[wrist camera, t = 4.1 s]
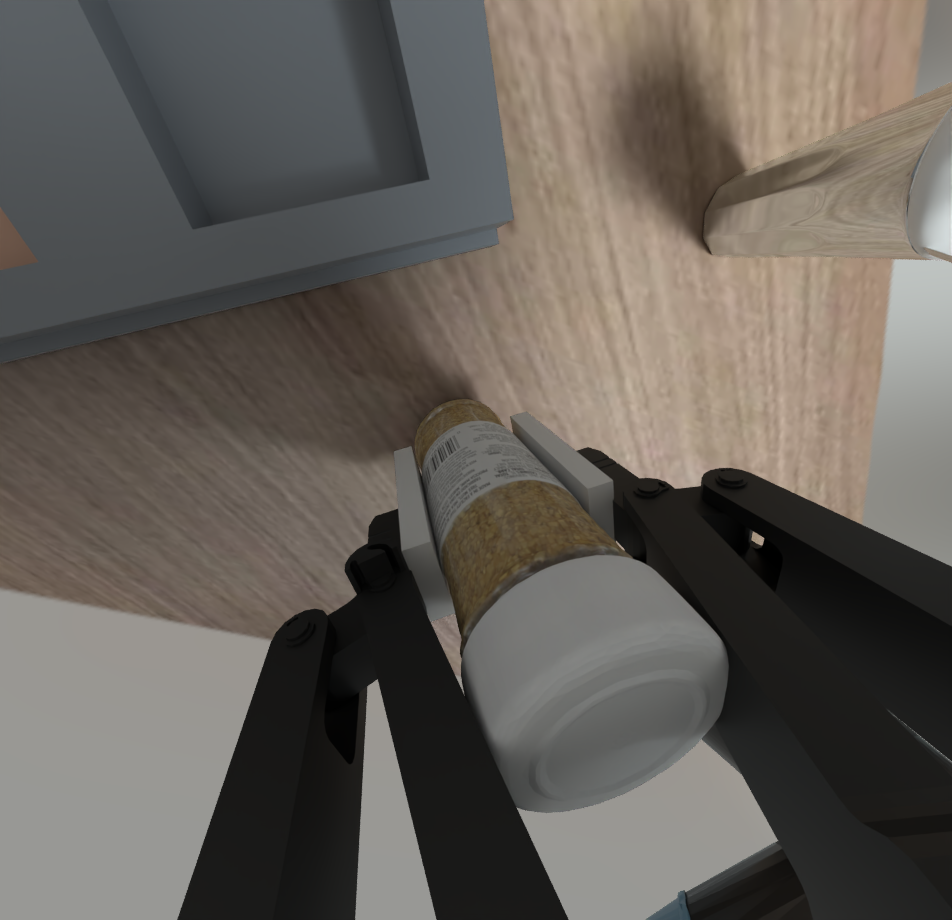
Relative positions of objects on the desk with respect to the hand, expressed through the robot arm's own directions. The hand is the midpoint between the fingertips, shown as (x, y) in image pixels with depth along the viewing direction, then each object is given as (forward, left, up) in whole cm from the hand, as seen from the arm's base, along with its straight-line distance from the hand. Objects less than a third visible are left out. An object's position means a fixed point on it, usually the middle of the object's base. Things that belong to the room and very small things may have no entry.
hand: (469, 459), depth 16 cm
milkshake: (+6, -15, -3) cm, 16 cm away
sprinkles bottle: (0, 0, -2) cm, 2 cm away
